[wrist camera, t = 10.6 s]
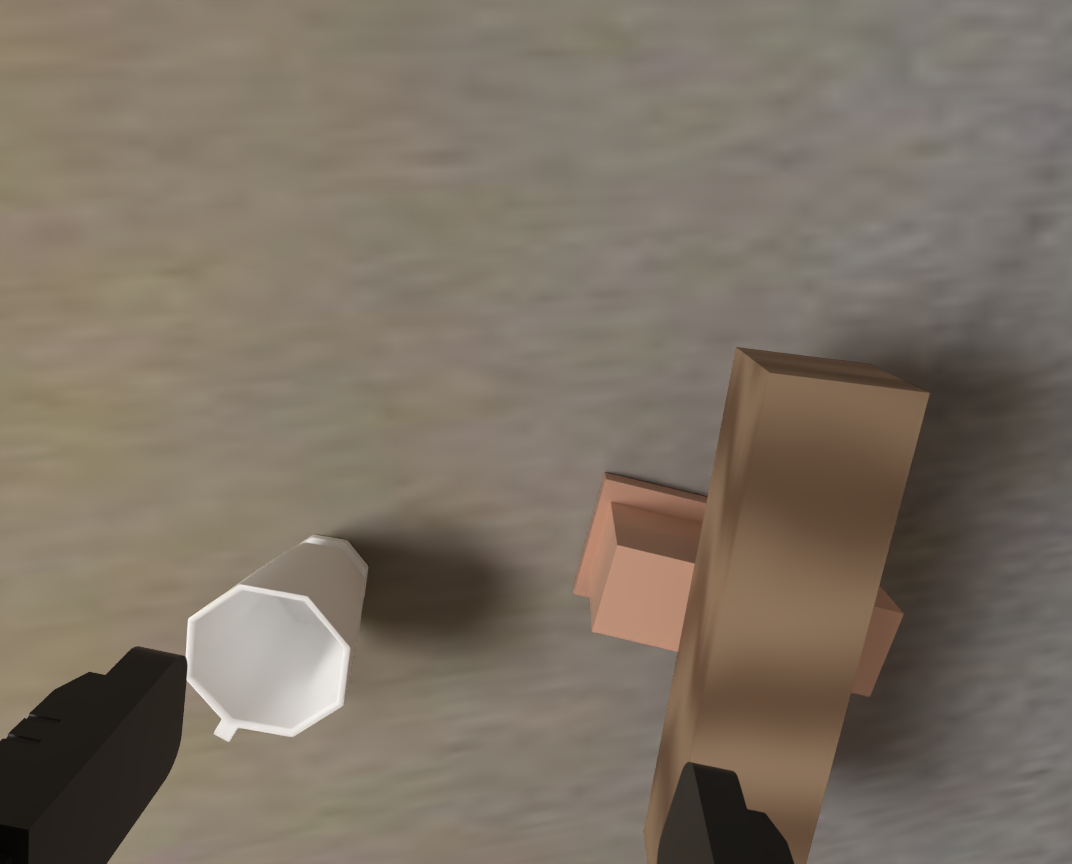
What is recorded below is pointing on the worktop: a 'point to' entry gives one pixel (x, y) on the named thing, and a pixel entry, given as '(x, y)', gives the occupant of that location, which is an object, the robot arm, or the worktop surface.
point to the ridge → (671, 571)
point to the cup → (281, 640)
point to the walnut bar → (785, 580)
